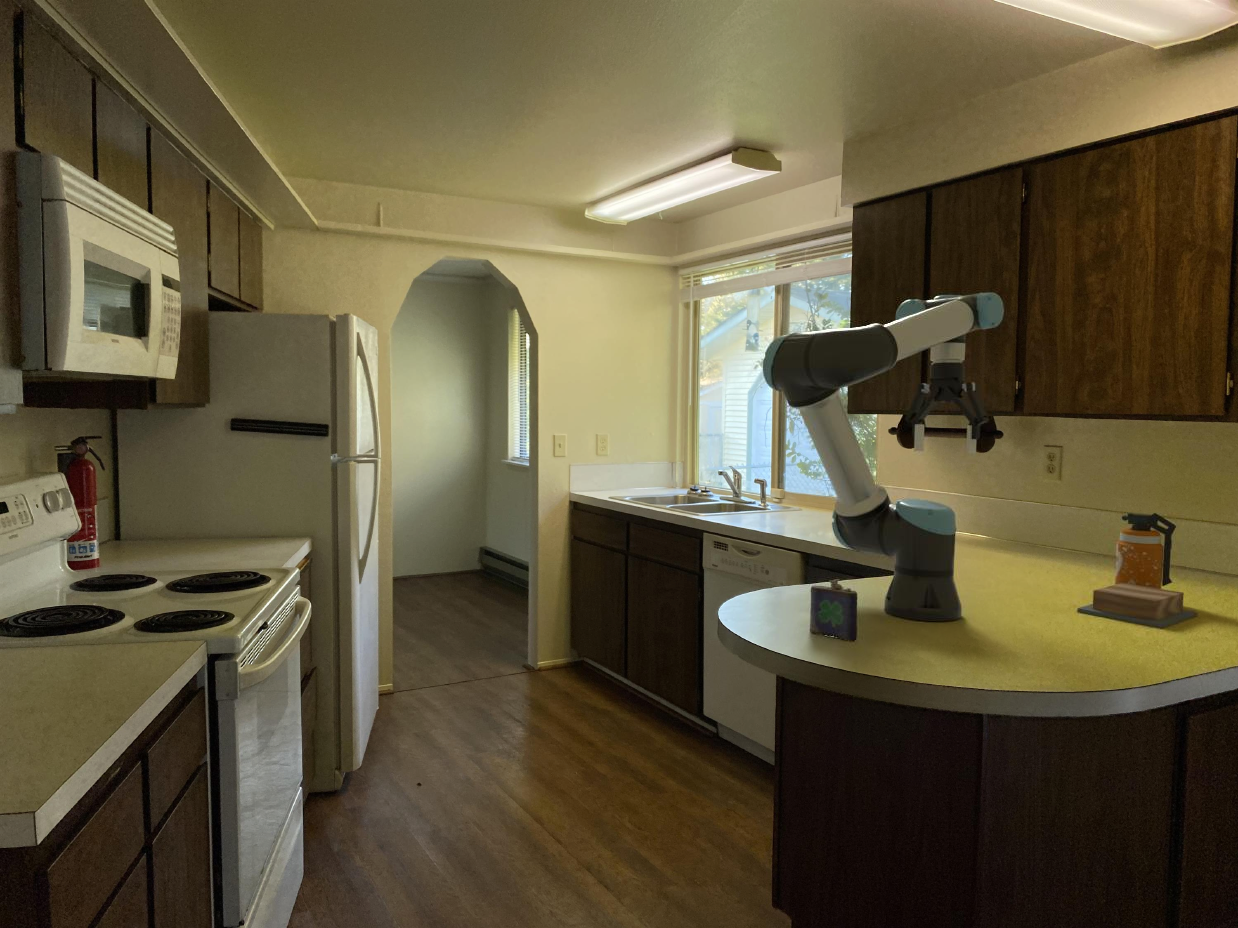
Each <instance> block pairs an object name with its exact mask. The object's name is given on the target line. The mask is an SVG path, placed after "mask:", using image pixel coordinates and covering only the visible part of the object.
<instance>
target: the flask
mask: <svg viewBox="0 0 1238 928" xmlns="http://www.w3.org/2000/svg"><path fill="white" fill-rule="evenodd" d="M839 581H840V579H839V578H834V579H833V580H831V579H830V580H829V583H830V586H826V585H816V584H814V585H812V586H811V588H810V614H809V615H810V617H809V619H810V620H809V632H810V633H812V634H813V633H815V634H814V635H816V634H818V635H819V634H822V635H821V636H823V635H827V636H834V637H837V638H841V639H844V640H843V641H846V640H847V642H856V641H857V636H858V635H857V634H858V621H857V619H858V615H857V614H858V593H857V591H856V590H851V588H850V587H846V588H845V587H844V586H843V585H841V584H840V583H839ZM834 637H833V638H834ZM841 639H840V640H841ZM855 640H856V641H855Z"/></svg>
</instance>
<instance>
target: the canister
mask: <svg viewBox="0 0 1238 928" xmlns="http://www.w3.org/2000/svg"><path fill="white" fill-rule="evenodd" d="M1121 519H1122V520H1123V521H1126V522H1127V524H1128V525H1131V527H1125V528H1122V529H1121V531H1120V532H1119V540H1118V541H1117V542H1116V550H1115V551H1116V553H1115V571H1114V573H1115V574H1114V585H1116V584H1120V583H1126V584H1133V585H1139V586H1145V587H1151V588H1158V589H1162V587H1164V586H1168V585H1170V584H1172V583H1173V581H1172V580H1171V578H1170V574H1171V573H1170V570H1171V550H1172V547H1173V546H1172V544H1173V540H1172V536H1173V534H1174V532H1175V530H1176V528H1177V526H1176V524H1174V523H1173V522H1171V521H1169V520H1168V519H1166V518H1164V517H1163V516H1161V515H1160V514H1158V513H1156V512H1154V513H1152V514H1145V513H1144V514H1142V513H1133V512H1127V515H1126V514H1123V515H1121ZM1158 523H1161V524H1163V525H1164V526H1165V527H1164V526H1162V525H1160V524H1158ZM1166 527H1167V528H1166ZM1161 534H1163V535H1164V537H1163V538H1164V543H1163V544H1162V535H1161Z"/></svg>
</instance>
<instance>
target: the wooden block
mask: <svg viewBox="0 0 1238 928" xmlns="http://www.w3.org/2000/svg"><path fill="white" fill-rule="evenodd" d="M1092 593H1093V594H1092V596H1093V598H1092V604H1093V609H1095V610H1101V611H1106V612H1111V613H1117V614H1122V615H1127V616H1132V617H1138V618H1143V619H1148V620H1154V621H1156V620H1159V619H1162V618H1165V617H1168V616H1171V615H1174V614H1177V613H1180V612H1182V611H1183V610H1184V597H1185V596H1184V595H1185V594H1184V592H1183V591H1176V590H1175V591H1174V590H1169V589H1164V588H1163V589H1162V588H1161V589H1158V588H1151V587H1145V586H1139V585H1133V584H1126V583H1120V584H1116V585H1115V584H1114V585H1109V586H1105V587H1101V588H1098V589H1094V590H1093V592H1092Z"/></svg>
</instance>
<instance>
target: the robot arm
mask: <svg viewBox="0 0 1238 928" xmlns="http://www.w3.org/2000/svg"><path fill="white" fill-rule="evenodd" d="M1004 313H1005V308H1004V303H1003V300H1002V298H1001V297H1000V295H999V294H997V293H995V292H979V293H973V294H968V295H960V294H944V295H943V294H941V295H937V296H935V297H934V298H933V299H929V300H921V299H919V298H918V299H907V300H905V301H904V302H902V303H900V304H899V306H898V308H897V310H896V313H895V320H894V321H892V322H890V323H886V324H880V323H871V324H869V325H866V326H860V327H852V328H833V329H825V330H817V331H807V332H790V333H789V334H788V333H787V334H784V335H783V334H782V335H780V336H778V337H776V338H775V339H773V340H772V341H771V342H770V343H769V345H768V347H767V348H766V350H765V353H764V358H763V359H762V374H763V378H764V381H765V383H766V384H767V386H769V387H770V388H771V389H772V390H775V391H777V392H782V393H783V395H784V397H785V400H786V403H787V404H788V406H789V407H790V408H793V409H796V410H798V411H799V414H800V415H801V418H802V420H803V423H804V424H805V425H804V426H805V427H806V430H807V431H808V433H809V436H810V438H811V441H812V443H813V445H814V447H815V450H816V451H817V454H818V456H819V460H820V461H821V463H822V465H823V467H824V470H825V472H826V475H827V477H828V479H829V482H830V484H831V486H832V488H833V491H834V493H835V495H836V497H837V499H836V501H835V502H834V509H833V512H832V518H831V519H833V521H832V522H831V525H832V527H831V528H832V532H833V535H834V537H835V539H836V540H837V542H839V543H840V544H841V545H842V546H844V547H845V548H846V549H849V550H851V551H855V552H857V553H862V554H870V555H876V556H883V557H888V558H893V559H894V570H893V571H894V574H893V576H892V579H891V582H890V584H889V587H888V590H887V593H886V595H885V598H884V608H883V610H884V611H885V612H886V613H887V614H890V615H893V616H895V617H899V618H902V619H903V618H904V619H908V620H915V621H921V622H922V621H924V622H951V621H956V620H959V619H961V618H962V614H963V613H962V611H963V606H962V603H961V600H960V596H959V593H958V589H957V586H956V583H955V577H954V574H955V556H956V555H955V551H956V550H955V548H956V533H957V525H956V514H955V512H954V509H952V508H951V507H950V506H949V505H946V504H943V503H941V502H937V501H936V502H935V501H932V500H928V499H927V500H926V499H920V498H901V499H899V500H897V501H896V503H893V502H892V501H891V499H890V497H889V495H888V492H887V490H886V488H885V487H884V486H883V485H880V484H877V483H876V482H875V479H874V477H873V474H872V472H871V470H870V468H869V464H868V463H867V460H866V458H865V455H864V453H863V451H862V448H861V446H860V443H859V440H858V438H857V436H856V433H855V431H854V429H853V426H852V424H851V421H850V418H849V416H848V415H847V412H846V410H845V407H844V404H843V402H842V399H841V397H840V394H839V393H840V390H841V389H842V388H846V387H850V386H852V385H854V384H855V385H856V384H858V383H860V382H862V381H866V380H868V379H870V378H871V379H872V377H875V376H877V375H880V374H882V373H885V372H887V371H890V370H891V369H892V368H893V367H894V366H895V365H896V363H897V362H898V361H900V360H904V359H905V358H908V357H911V356H913V355H916V354H917V353H920V352H923V351H925V350H927V349H930V356H929V357H930V359H929V360H930V362H932V363H931V364H930V368H929V378H930V383H929V384H927V383H921V382H920V383H919V384H918V385H917V390H916V391H917V392H916V393H915V396H914V399H913V400H912V403H911V405H910V407H909V409H908V411H907V413H906V416H905V418H904V420H905V422H909V423H910V424H911V425H912V426H911V427H912V429H911V436H912V438H914V442H913V443H914V444H913V445H914V446H913V451H914V452H924V445H925V424H923V421H924V420H925V419H926V418H927V416H928V415H929V414H930V413H931V411H933V409H934V408H935V406H936V405H937V404H939V403H954V404H955V405H956V406H957V407H958V408H959V411H961V413H962V414H963V415H964V417H965V418H966V419H967V420H968V422H969V425H966V428H967V429H966V450H965V451H966V452H965V453H966V454H967V455H972V454H973V455H975V454H977V440H979V439H980V436H981V425H983V424H985V423H989V422H990V418H989V415H988V413H987V411H986V409H985V407H984V405H983V401H982V400H981V398H980V395H979V392H978V384H977V382H972V381H971V382H970V381H967V382H966V383H964V378H965V364H964V361H965V359H966V358H965V357H966V334H969V333H971V332H974V331H977V330H986V329H993V328H996V327H998V326H999V325H1000V324H1001V322H1002V320H1003V318H1004ZM929 392H930V394H929V396H928V397H927V395H928V393H929ZM963 392H966V395H967V398H968V400H969V402H970V404H969V403H968V402H967V399H966V398H965V396H964V394H962V393H963ZM926 397H927V398H926ZM925 399H926V401H925ZM924 401H925V403H924ZM970 405H971V406H970Z"/></svg>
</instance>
